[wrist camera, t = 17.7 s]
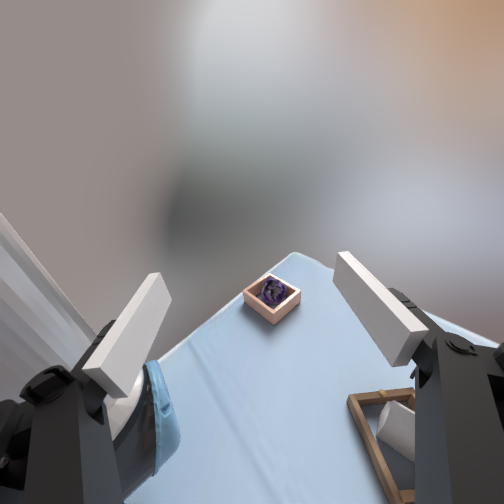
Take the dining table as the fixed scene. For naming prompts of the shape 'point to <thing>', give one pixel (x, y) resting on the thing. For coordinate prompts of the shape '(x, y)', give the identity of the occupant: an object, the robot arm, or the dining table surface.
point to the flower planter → (262, 308)
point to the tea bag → (398, 428)
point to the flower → (273, 291)
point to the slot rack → (398, 499)
